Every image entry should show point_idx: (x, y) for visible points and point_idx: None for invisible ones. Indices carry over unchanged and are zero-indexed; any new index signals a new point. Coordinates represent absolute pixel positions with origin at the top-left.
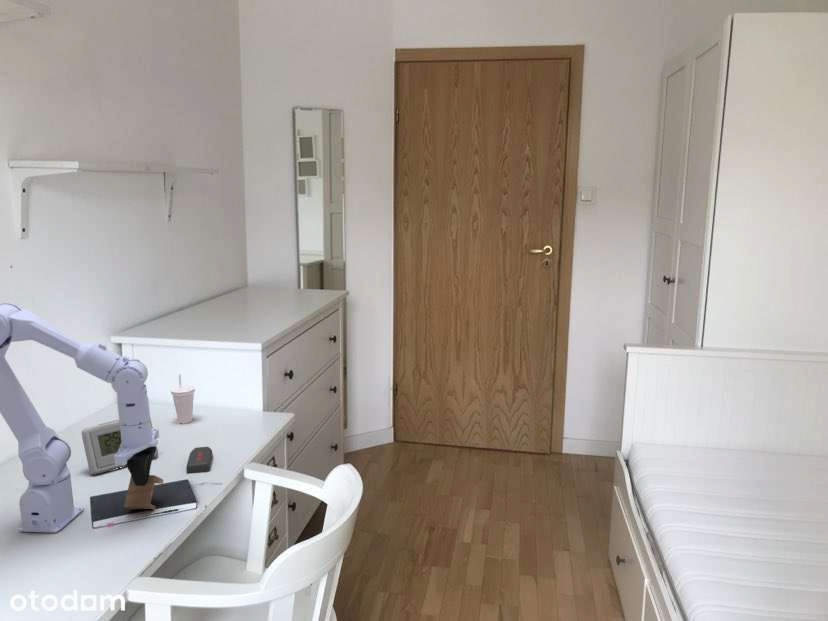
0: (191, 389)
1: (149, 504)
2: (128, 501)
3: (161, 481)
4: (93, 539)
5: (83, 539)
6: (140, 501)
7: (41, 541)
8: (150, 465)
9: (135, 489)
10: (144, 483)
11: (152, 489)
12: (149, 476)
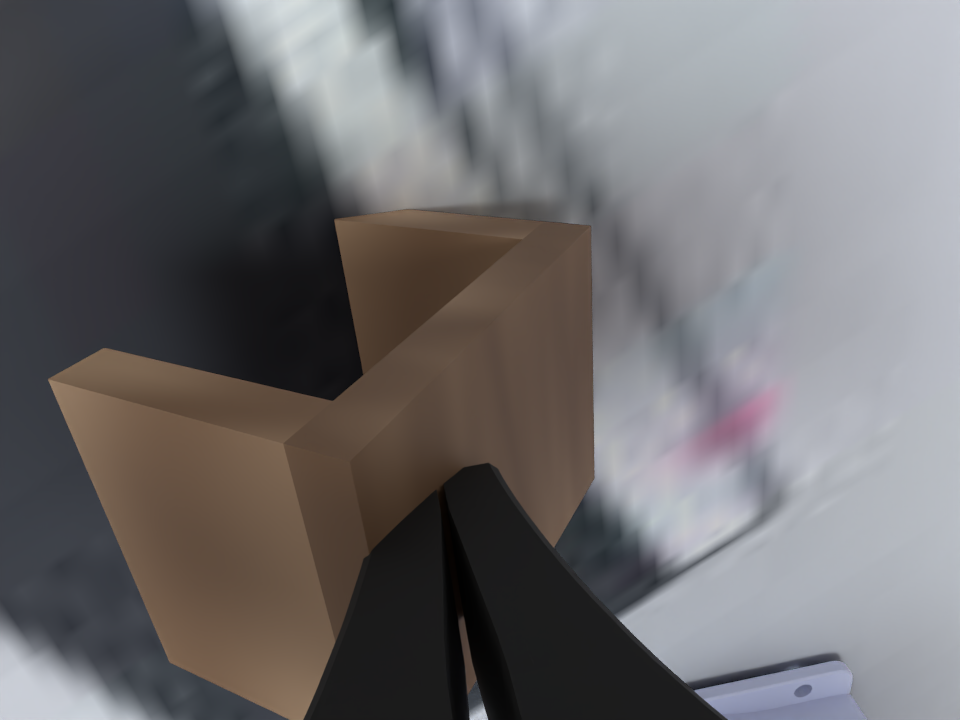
0: None
1: (543, 238)
2: (571, 481)
3: (131, 368)
4: (954, 399)
5: (942, 463)
6: (566, 358)
7: (925, 660)
8: (336, 718)
9: None
10: (506, 483)
11: (455, 325)
12: (383, 528)
